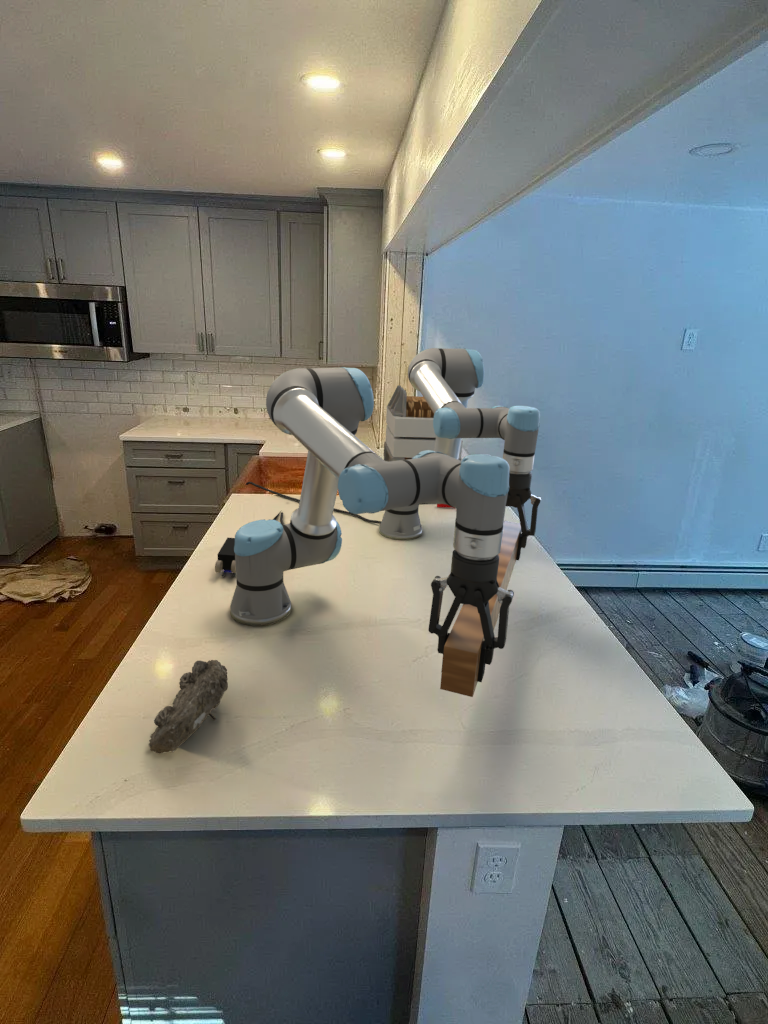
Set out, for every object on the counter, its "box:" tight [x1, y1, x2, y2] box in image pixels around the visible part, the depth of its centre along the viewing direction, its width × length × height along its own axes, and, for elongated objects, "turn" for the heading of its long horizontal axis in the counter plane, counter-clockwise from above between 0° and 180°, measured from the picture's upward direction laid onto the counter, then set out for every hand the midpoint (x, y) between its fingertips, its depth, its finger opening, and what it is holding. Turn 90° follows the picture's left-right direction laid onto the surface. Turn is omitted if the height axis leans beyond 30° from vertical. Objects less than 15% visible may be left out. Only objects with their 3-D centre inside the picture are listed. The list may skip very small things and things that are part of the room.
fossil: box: [148, 659, 229, 754], centre depth 106 cm, size 22×10×15 cm
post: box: [439, 520, 522, 698], centre depth 122 cm, size 64×6×8 cm, turn 161°
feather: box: [272, 510, 283, 521], centre depth 212 cm, size 2×28×2 cm
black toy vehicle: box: [214, 537, 236, 578], centre depth 166 cm, size 7×8×15 cm
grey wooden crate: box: [383, 384, 464, 462], centre depth 268 cm, size 34×33×41 cm
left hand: (462, 672), depth 99 cm, fingers closed on post, 6 cm apart
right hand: (505, 555), depth 148 cm, fingers closed on post, 6 cm apart
